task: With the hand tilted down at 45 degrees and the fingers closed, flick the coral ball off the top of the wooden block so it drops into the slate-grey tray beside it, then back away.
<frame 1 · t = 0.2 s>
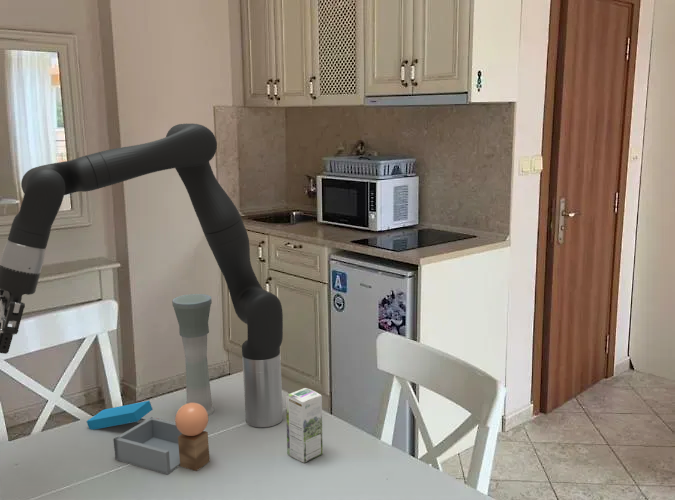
ball: (191, 419, 146), point 10 cm above the table, touching wooden block
lever: (128, 428, 167), on the table
tray: (159, 454, 153), on the table
syrup box: (305, 455, 151), on the table
container: (199, 412, 174), on the table
wooden block: (195, 463, 148), on the table
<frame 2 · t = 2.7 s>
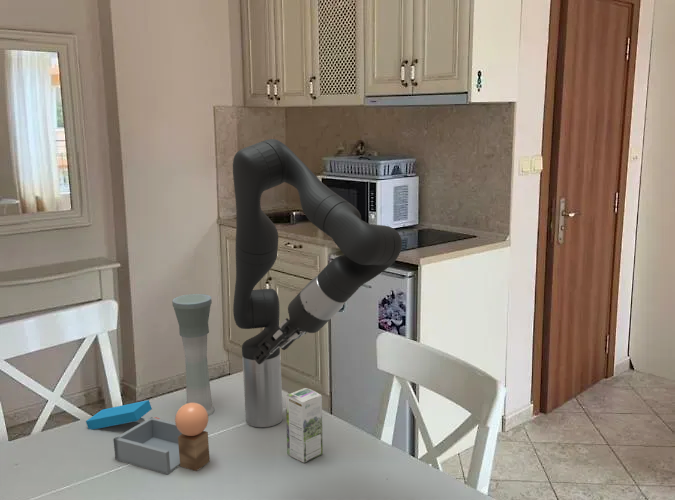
hand: (269, 353, 132), 29 cm above the table, tool tilted 45°, fingers open, 8 cm apart
nothing on the table moved.
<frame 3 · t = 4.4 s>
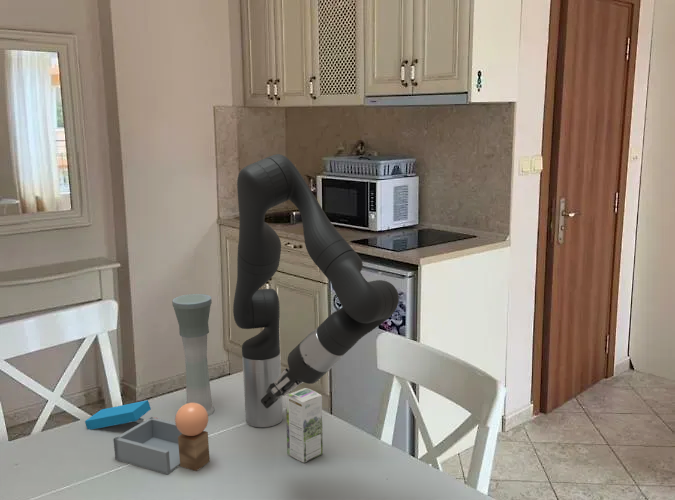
hand: (265, 403, 136), 18 cm above the table, tool tilted 45°, fingers closed
nothing on the table moved.
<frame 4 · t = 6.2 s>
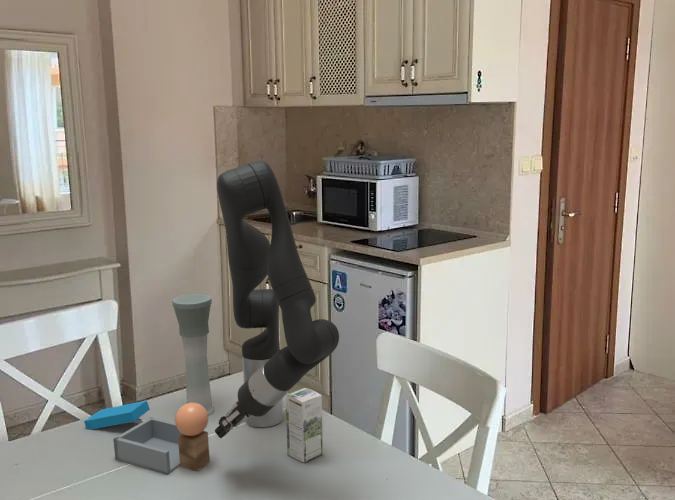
hand: (219, 433, 143), 9 cm above the table, tool tilted 45°, fingers closed
nothing on the table moved.
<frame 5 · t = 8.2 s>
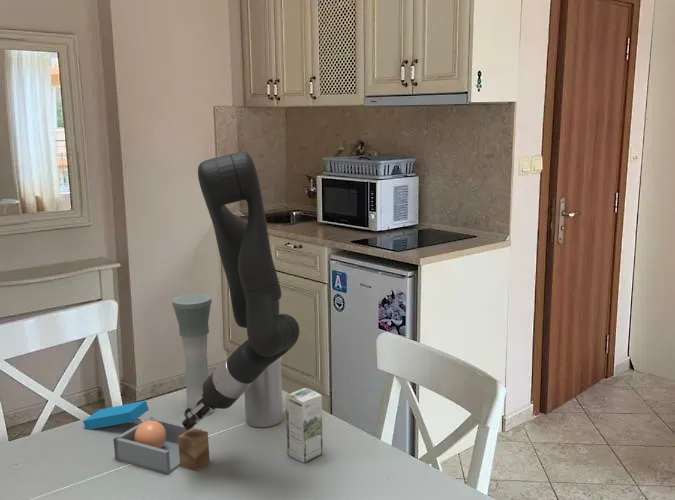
hand: (186, 425, 147), 9 cm above the table, tool tilted 45°, fingers closed
ball: (150, 436, 153), point 4 cm above the table, tilted 134°, touching tray
everything else where it was.
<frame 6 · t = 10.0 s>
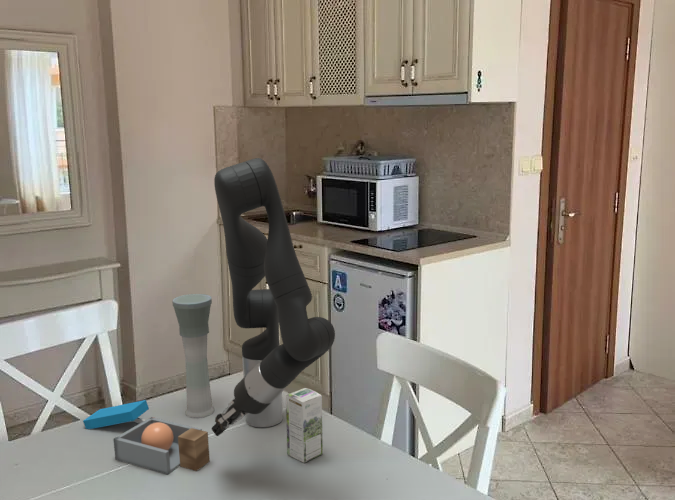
hand: (215, 431, 143), 9 cm above the table, tool tilted 45°, fingers closed
ball: (157, 438, 152), point 4 cm above the table, tilted 170°, touching tray
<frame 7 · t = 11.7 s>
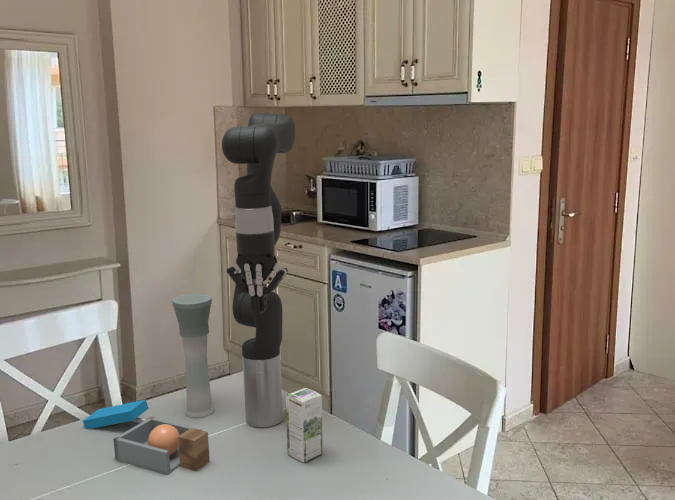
hand: (259, 312, 138), 35 cm above the table, tool pointing down, fingers closed
ball: (164, 440, 151), point 4 cm above the table, tilted 157°, touching tray
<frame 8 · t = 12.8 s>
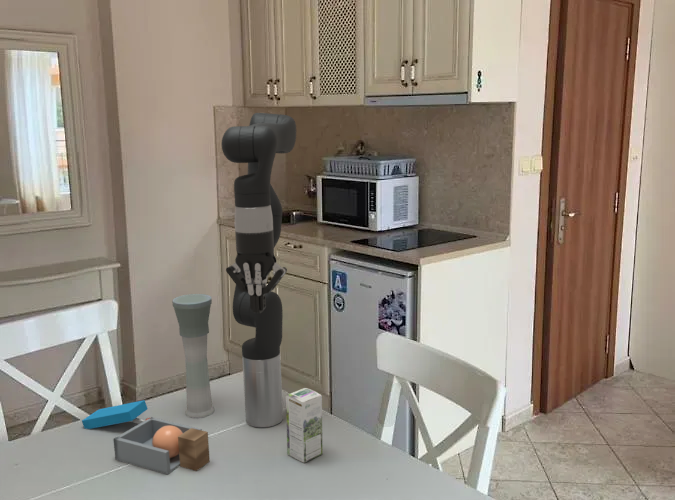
hand: (258, 311, 138), 35 cm above the table, tool pointing down, fingers closed
ball: (168, 441, 150), point 4 cm above the table, tilted 136°, touching tray
at the end: ball 3.6 cm from the tray (horizontally); ball point 4.0 cm above the table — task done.
